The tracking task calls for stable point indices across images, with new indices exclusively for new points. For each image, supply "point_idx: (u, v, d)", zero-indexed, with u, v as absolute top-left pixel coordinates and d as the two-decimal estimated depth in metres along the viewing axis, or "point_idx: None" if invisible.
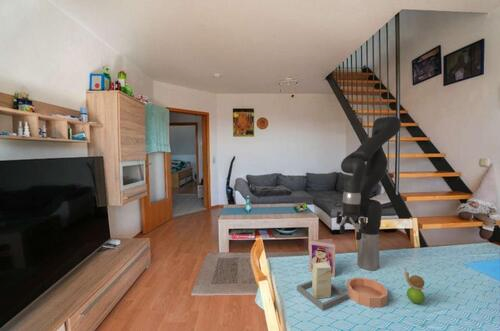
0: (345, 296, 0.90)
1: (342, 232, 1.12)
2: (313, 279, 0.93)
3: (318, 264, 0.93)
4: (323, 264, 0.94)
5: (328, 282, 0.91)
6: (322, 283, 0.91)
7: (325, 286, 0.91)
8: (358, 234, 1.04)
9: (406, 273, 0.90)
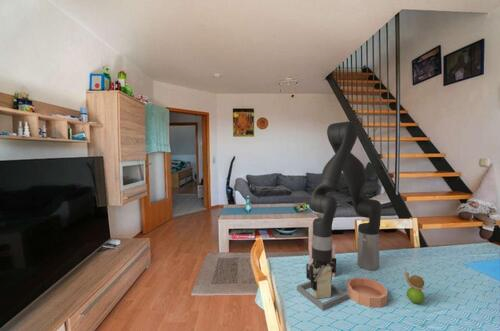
0: (345, 296, 0.90)
1: None
2: None
3: None
4: None
5: (328, 282, 0.91)
6: (322, 283, 0.91)
7: (325, 286, 0.91)
8: None
9: (406, 273, 0.90)
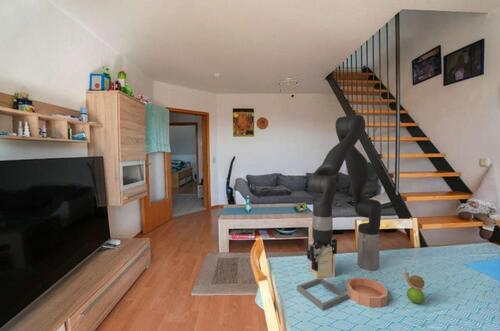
0: (345, 296, 0.90)
1: None
2: None
3: None
4: None
5: (329, 263, 0.91)
6: (323, 263, 0.91)
7: (326, 267, 0.91)
8: None
9: (406, 273, 0.90)
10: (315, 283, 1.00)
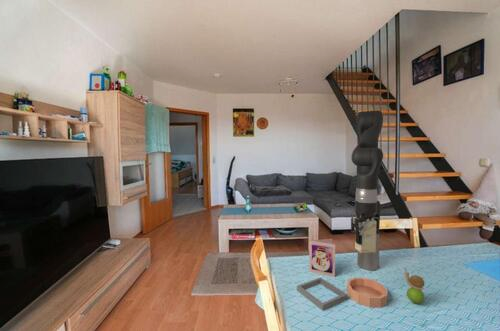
0: (345, 296, 0.90)
1: None
2: None
3: None
4: None
5: (373, 236, 0.90)
6: (367, 237, 0.89)
7: (370, 240, 0.90)
8: None
9: (406, 273, 0.90)
10: (315, 283, 1.00)
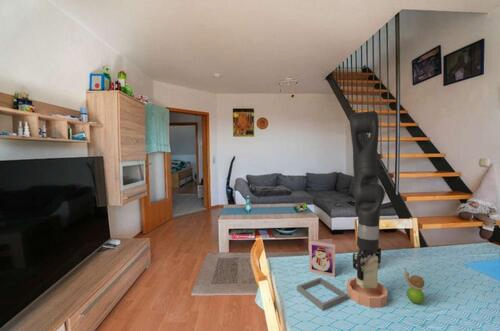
0: (345, 296, 0.90)
1: None
2: None
3: None
4: None
5: (374, 272, 0.90)
6: (369, 273, 0.90)
7: (372, 276, 0.90)
8: None
9: (406, 273, 0.90)
10: (315, 283, 1.00)
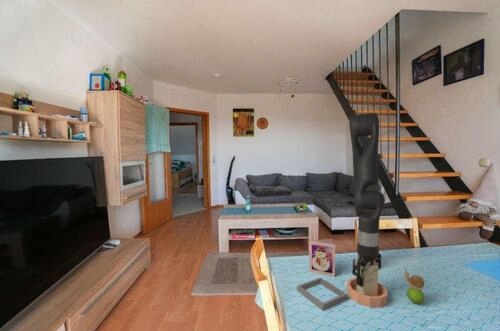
0: (345, 296, 0.90)
1: None
2: None
3: None
4: None
5: (375, 281, 0.91)
6: (369, 282, 0.90)
7: (372, 285, 0.91)
8: None
9: (406, 273, 0.90)
10: (315, 283, 1.00)
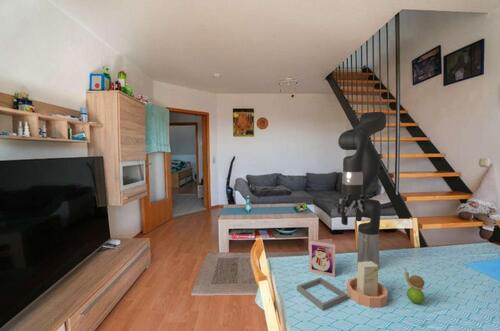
0: (345, 296, 0.90)
1: None
2: (359, 278, 0.93)
3: (364, 263, 0.93)
4: (369, 263, 0.93)
5: (375, 281, 0.91)
6: (369, 282, 0.90)
7: (372, 285, 0.91)
8: None
9: (406, 273, 0.90)
10: (315, 283, 1.00)
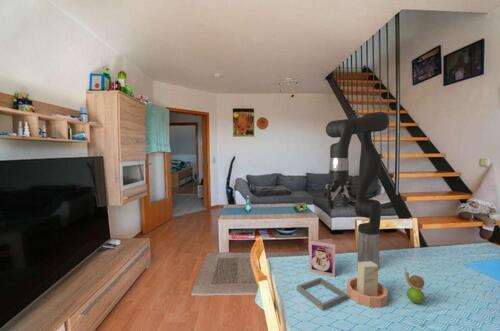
0: (345, 296, 0.90)
1: None
2: (359, 278, 0.93)
3: (364, 263, 0.93)
4: (369, 263, 0.93)
5: (375, 281, 0.91)
6: (369, 282, 0.90)
7: (372, 285, 0.91)
8: (347, 200, 1.00)
9: (406, 273, 0.90)
10: (315, 283, 1.00)
